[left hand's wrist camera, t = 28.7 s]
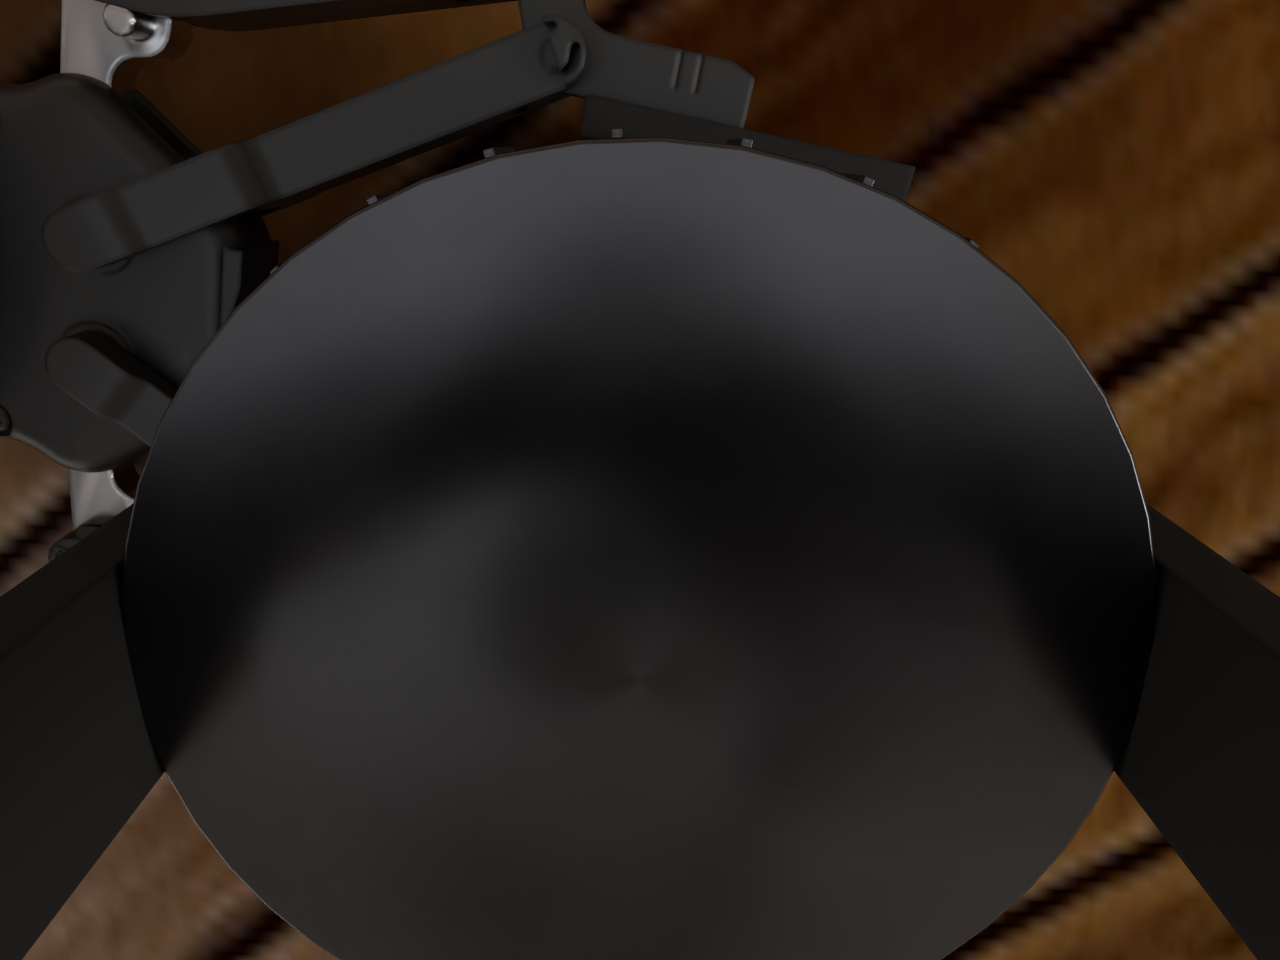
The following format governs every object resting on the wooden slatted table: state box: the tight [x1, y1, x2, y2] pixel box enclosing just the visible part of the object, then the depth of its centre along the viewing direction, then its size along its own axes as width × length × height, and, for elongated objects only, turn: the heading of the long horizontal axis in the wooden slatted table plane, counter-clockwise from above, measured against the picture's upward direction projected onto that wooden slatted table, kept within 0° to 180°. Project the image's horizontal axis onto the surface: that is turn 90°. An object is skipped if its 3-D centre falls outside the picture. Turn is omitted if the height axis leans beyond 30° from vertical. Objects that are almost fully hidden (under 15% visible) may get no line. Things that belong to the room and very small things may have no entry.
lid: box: [123, 128, 1156, 960], centre depth 11 cm, size 11×11×2 cm
